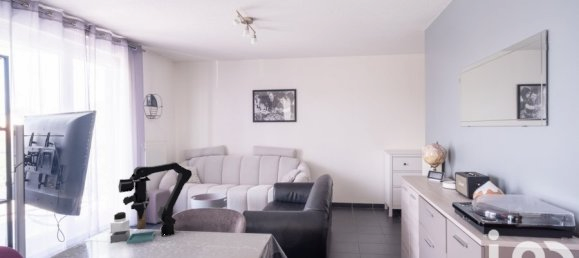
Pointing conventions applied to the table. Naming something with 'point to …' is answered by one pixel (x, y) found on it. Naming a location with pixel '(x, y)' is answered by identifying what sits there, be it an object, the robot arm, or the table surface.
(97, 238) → the table surface
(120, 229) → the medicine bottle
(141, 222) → the walnut dowel
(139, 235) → the tray
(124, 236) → the grey square open box
